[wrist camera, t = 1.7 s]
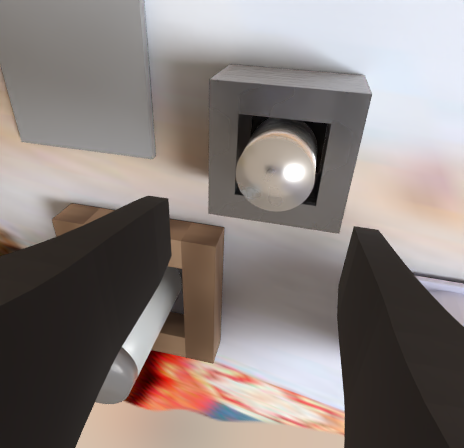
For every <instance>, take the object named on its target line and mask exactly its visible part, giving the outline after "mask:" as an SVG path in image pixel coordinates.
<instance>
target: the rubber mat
mask: <svg viewBox="0 0 464 448" xmlns="http://www.w3.org/2000/svg"><path fill="white" fill-rule="evenodd" d="M0 66H1V69H2V73H3V76H4V80H5V84H6V87H7V91H8V94H9V98H10V102H11V105H12V109H13V112H14V116H15V120H16V123H17V127H18V131H19V134H20V138H21V141H22V142H26V143H34V144H41V145H49V146H56V147H64V148H72V149H79V150H87V151H94V152H102V153H110V154H117V155H125V156H132V157H140V158H148V159H153V158H154V157H155V156H156V150H155V137H154V124H153V110H152V97H151V84H150V70H149V57H148V44H147V30H146V17H145V4H144V0H0Z"/></svg>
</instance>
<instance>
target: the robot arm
mask: <svg viewBox="0 0 464 448" xmlns="http://www.w3.org/2000/svg"><path fill="white" fill-rule="evenodd" d="M171 256H172V253H171V236H170V219H169V203H168V199H167V198H160V197H154V196H146V197H143V198H141V199H138V200H136V201H134V202H132V203H130V204H127V205H125V206H123V207H121V208H119V209H117V210H115V211H113V212H111V213H109V214H107V215H104V216H102V217H100V218H98V219H96V220H94V221H92V222H90V223H87V224H85V225H83V226H80V227H78V228H76V229H73V230H71V231H69V232H66V233H64V234H62V235H60V236H57V237H55V238H52V239H50V240H47V241H45V242H42V243H39V244H36V245H34V246H31V247H28V248H25V249H22V250H19V251H16V252H13V253H10V254H6V255H3V256H0V448H75V447H76V444H77V442H78V440H79V437H80V435H81V432H82V430H83V428H84V425H85V423H86V421H87V419H88V416H89V414H90V412H91V410H92V407H93V405H94V403H95V401H96V399H97V396H98V394H99V392H100V390H101V388H102V385H103V383H104V381H105V379H106V377H107V375H108V373H109V371H110V369H111V366H112V364H113V362H114V360H115V358H116V357H117V355H118V353H119V351H120V349H121V347H122V346H123V344H124V342H125V341H126V339H127V337H128V336H129V334H130V333H131V331H132V329H133V328H134V326H135V324H136V323H137V321H138V319H139V318H140V316H141V315H142V313H143V311H144V310H145V308H146V306H147V305H148V303H149V301H150V300H151V298H152V296H153V295H154V293H155V291H156V290H157V288H158V286H159V284H160V282H161V280H162V278H163V276H164V273H165V271H166V269H167V266H168V264H169V261H170V259H171ZM337 321H338V333H339V345H340V356H341V367H342V378H343V389H344V405H345V444H344V448H464V284H463V283H457V282H451V281H445V280H439V279H433V278H427V277H421V276H415V275H414V274H413V273H412V272H411V271H410V270H409V268H408V267H407V266H406V265H405V263H404V262H403V261H402V260H401V259H400V257H399V256H398V255H397V253H396V252H395V251H394V250H393V248H392V247H391V246H390V244H389V243H388V242H387V241H386V239H385V238H384V237H383V235H382V234H381V233H380V232H379V230H375V229H368V228H361V227H355V226H354V228H353V232H352V236H351V240H350V243H349V247H348V251H347V255H346V259H345V263H344V267H343V270H342V274H341V278H340V282H339V288H338V311H337Z"/></svg>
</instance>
